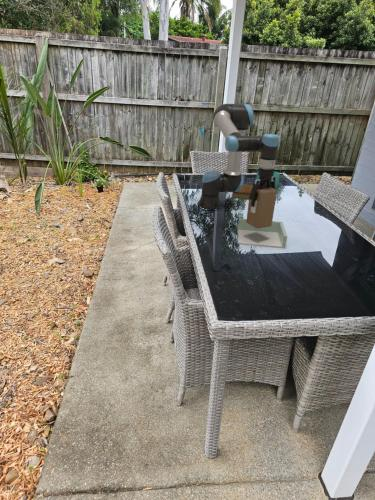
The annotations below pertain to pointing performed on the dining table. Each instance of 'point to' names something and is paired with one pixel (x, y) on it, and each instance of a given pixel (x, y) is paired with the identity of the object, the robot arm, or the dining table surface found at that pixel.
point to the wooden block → (262, 208)
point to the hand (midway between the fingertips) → (260, 210)
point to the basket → (273, 176)
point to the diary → (243, 192)
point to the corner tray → (262, 235)
